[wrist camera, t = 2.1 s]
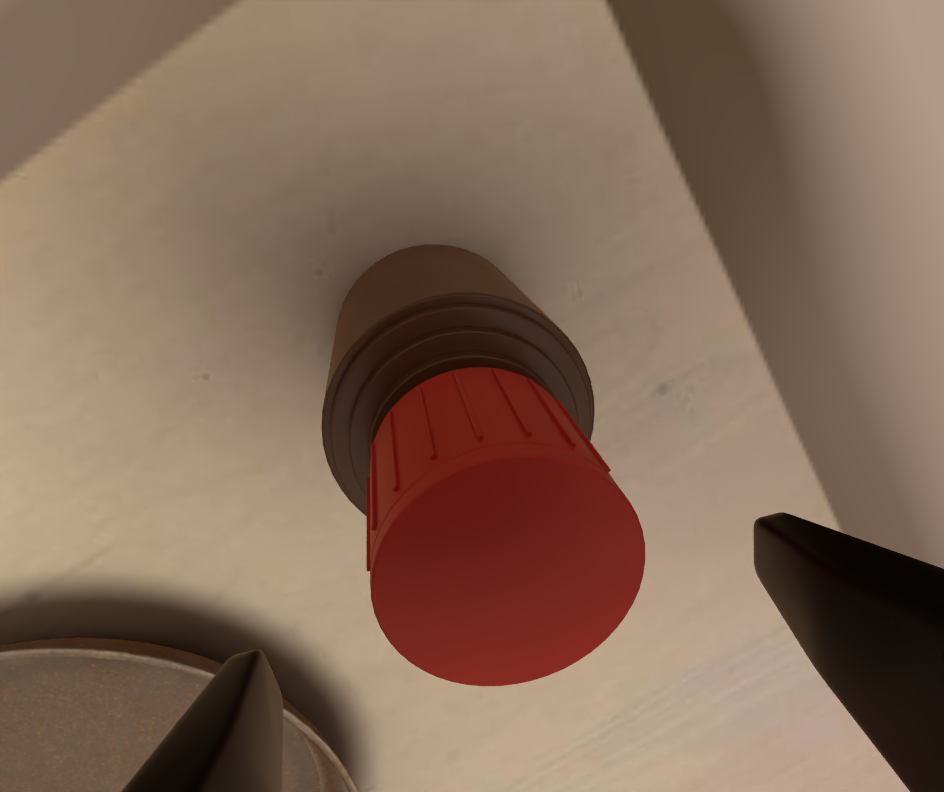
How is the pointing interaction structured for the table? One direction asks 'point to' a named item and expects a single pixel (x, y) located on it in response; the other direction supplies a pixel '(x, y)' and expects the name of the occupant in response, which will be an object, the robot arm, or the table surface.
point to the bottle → (434, 347)
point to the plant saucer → (119, 716)
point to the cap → (495, 531)
